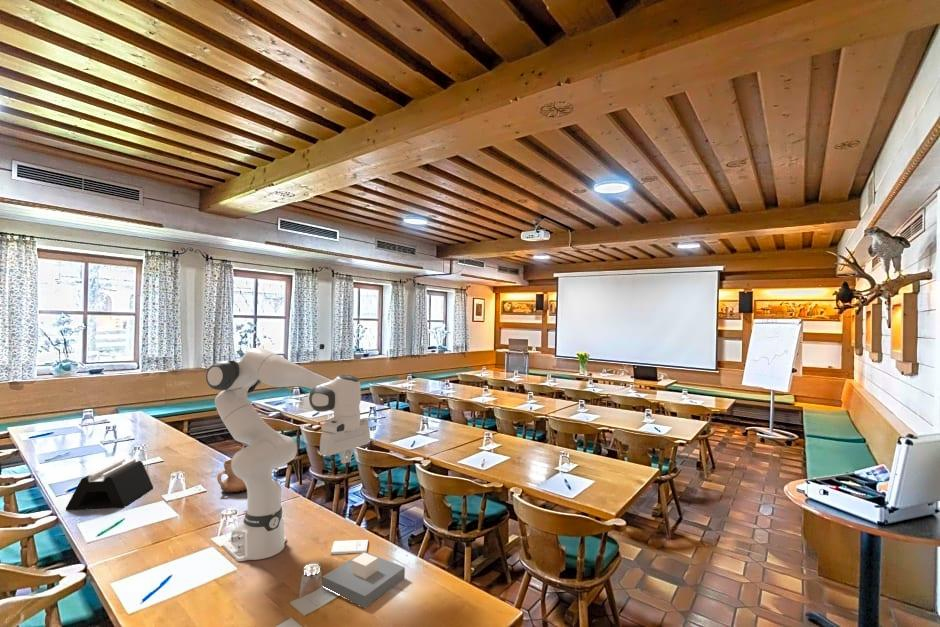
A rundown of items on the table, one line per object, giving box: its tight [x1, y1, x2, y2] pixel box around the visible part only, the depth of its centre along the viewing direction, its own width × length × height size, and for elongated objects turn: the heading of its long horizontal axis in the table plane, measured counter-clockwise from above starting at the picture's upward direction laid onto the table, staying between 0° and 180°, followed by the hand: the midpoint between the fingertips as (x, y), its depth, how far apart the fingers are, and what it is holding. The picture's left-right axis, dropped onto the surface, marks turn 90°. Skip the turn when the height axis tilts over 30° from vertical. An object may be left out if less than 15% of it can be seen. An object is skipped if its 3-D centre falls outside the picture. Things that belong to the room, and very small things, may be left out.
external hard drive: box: [330, 539, 369, 555], centre depth 159 cm, size 2×8×12 cm
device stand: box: [65, 458, 154, 511], centre depth 198 cm, size 22×22×15 cm
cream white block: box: [351, 553, 378, 579], centre depth 138 cm, size 6×6×8 cm
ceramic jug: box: [216, 458, 247, 494], centre depth 212 cm, size 18×14×14 cm
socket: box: [321, 551, 406, 609], centre depth 138 cm, size 18×18×4 cm
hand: (345, 462), depth 151 cm, fingers closed
